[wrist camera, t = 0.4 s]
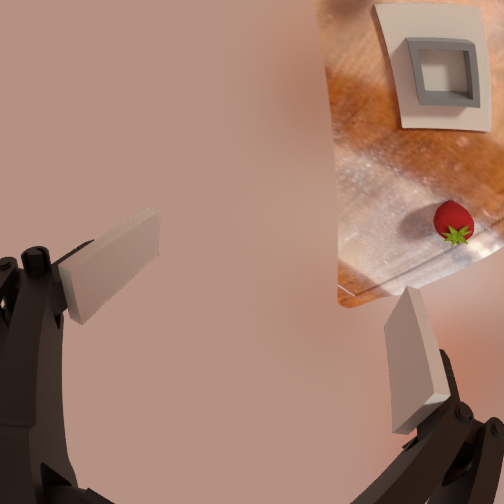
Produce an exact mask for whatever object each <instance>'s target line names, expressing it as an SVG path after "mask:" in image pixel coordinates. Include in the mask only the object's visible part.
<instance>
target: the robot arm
mask: <svg viewBox="0 0 504 504" xmlns="http://www.w3.org/2000/svg"><path fill="white" fill-rule="evenodd" d="M160 214H161V211H159V210H156V209H153V208H147V209H146V210H144V211H142V212H140V213H139V214H137V215H135V216H133V217H132V218H130V219H128V220H127V221H125V222H123V223H122V224H120V225H118V226H117V227H115V228H113V229H112V230H110V231H109V232H107V233H105V234H104V235H102V236H101V237H99V238H97V239H96V240H91V241H88V242H85V243H83V244H81V245H80V246H78V247H77V248H76V249H74V250H72V251H71V252H70V253H68V254H66V255H65V256H63V257H62V258H60V259H59V260H57V261H56V262H54V263H53V264H51V262H50V256H49V251H48V249H47V248H45V247H43V246H35V247H31V248H29V249H27V250H25V251H24V252H23V253H22V254H21V259H22V263H23V267H24V269H20V268H18V264H17V260H16V259H15V258H13V257H5V258H1V259H0V304H1V302H2V300H3V301H4V303H5V305H4V307H3V308H2V307H1V305H0V504H114V503H113V502H111V501H109V500H108V499H106V498H104V497H103V496H101V495H99V494H98V493H96V492H94V491H93V490H91V489H90V488H88V489H87V490H85V489H81V488H78V484H77V480H76V476H75V473H74V470H73V468H72V466H71V463H70V461H69V458H68V454H67V446H66V438H65V429H64V418H63V404H62V403H63V402H62V340H63V324H64V316H63V311H64V310H66V309H67V308H68V311H69V315H70V318H71V319H73V320H74V321H76V322H78V323H79V324H81V325H83V324H84V323H85V322H86V321H87V320H88V319H89V318H90V317H91V316H92V315H94V314H95V313H96V311H98V310H99V309H100V308H101V307H102V306H103V305H104V304H105V303H106V302H107V301H108V300H110V299H111V298H112V297H113V296H114V295H115V294H116V293H117V292H118V291H119V290H120V289H121V288H122V287H124V286H125V285H126V284H127V283H128V282H129V281H130V280H131V279H132V278H134V277H135V276H136V275H137V274H138V273H139V272H140V271H141V270H143V269H144V268H145V267H146V266H147V265H148V264H149V263H150V262H152V261H153V260H154V259H155V258H156V257H157V256H158V255H159V232H160ZM384 331H385V339H386V346H387V355H388V366H389V377H390V390H391V407H392V433H397V434H406V435H408V434H409V433H410V432H412V431H413V430H414V429H415V428H416V427H417V436H416V437H414V438H413V439H412V440H410V441H409V442H408V443H407V444H405V445H404V446H403V447H402V448H404V450H403V451H402V452H401V453H400V454H399V455H398V457H397V458H396V459H395V460H394V461H393V462H392V463H391V464H390V465H389V466H388V468H387V469H386V470H385V471H384V472H383V473H382V474H381V475H380V476H379V477H378V478H377V479H376V480H375V481H374V482H373V483H372V484H371V485H370V486H369V487H368V488H367V489H366V490H365V491H364V492H362V494H360V495H359V496H358V497H357V498H356V499H355V500H354V501H353V502H351V503H350V504H425V502H426V501H427V500H428V498H429V497H430V498H429V500H428V502H427V504H493V503H494V499H495V494H496V491H497V487H498V482H499V478H500V473H501V468H502V462H503V456H504V424H503V422H502V421H501V420H500V419H498V418H496V417H492V418H490V419H489V420H488V421H487V422H486V423H482V422H480V421H477V420H475V419H474V416H473V412H472V410H471V409H470V407H469V406H468V405H467V404H465V403H464V402H461V401H460V398H459V393H458V389H457V385H456V381H455V377H453V376H454V374H453V370H452V366H451V363H450V359H449V358H448V356H447V355H446V353H445V352H444V350H442V349H439V348H438V344H437V341H436V338H435V335H434V331H433V328H432V325H431V322H430V319H429V316H428V313H427V310H426V308H425V305H424V302H423V299H422V296H421V294H420V291H419V290H418V289H415V288H412V287H409V286H406V288H405V290H404V292H403V294H402V296H401V297H400V299H399V301H398V303H397V305H396V307H395V308H394V310H393V312H392V314H391V315H390V317H389V319H388V321H387V322H386V324H385V326H384ZM470 466H471V467H470Z"/></svg>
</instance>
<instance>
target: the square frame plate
mask: <svg viewBox="0 0 504 504" xmlns="http://www.w3.org/2000/svg"><path fill="white" fill-rule="evenodd" d="M374 5H375V8H376V11H377V14H378V17H379V21H380V24H381V27H382V31H383V34H384V38H385V42H386V45H387V49H388V53H389V57H390V62H391V66H392V71H393V75H394V80H395V85H396V91H397V96H398V102H399V108H400V115H401V122H402V128H443V129H462V130H476V131H487V132H491V119H492V100H491V77H490V65H489V55H488V47H487V40H486V34H485V28H484V23H483V18H482V13H481V9H480V7H474V6H466V5H457V4H444V3H387V4H374Z"/></svg>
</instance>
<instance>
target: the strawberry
mask: <svg viewBox="0 0 504 504" xmlns="http://www.w3.org/2000/svg"><path fill="white" fill-rule="evenodd" d="M433 222H434V226H435V229H436V231H437V232H438V234H439V235H440V236H442V237H443V238H445V240H444V241H452V246H453V245H454V244H455V243H457V245H459V242H463V243H466V244H468V243H467V242H466V240H467V239H469V238H470V237H471V236H472V235H473V232H474V221H473V219H472V217H471V215H470V214H469V212H468V211H467V210H466V209H465V208H464V207H462V206H461V205H460V204H458V203H456V202H454V201H451V200H450V201H448V202H445V203H444V204H442V205H441V206H440V207H439V208H438V209H437V210H436V213H435V216H434V221H433ZM460 244H461V243H460ZM452 246H451V247H452Z"/></svg>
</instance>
